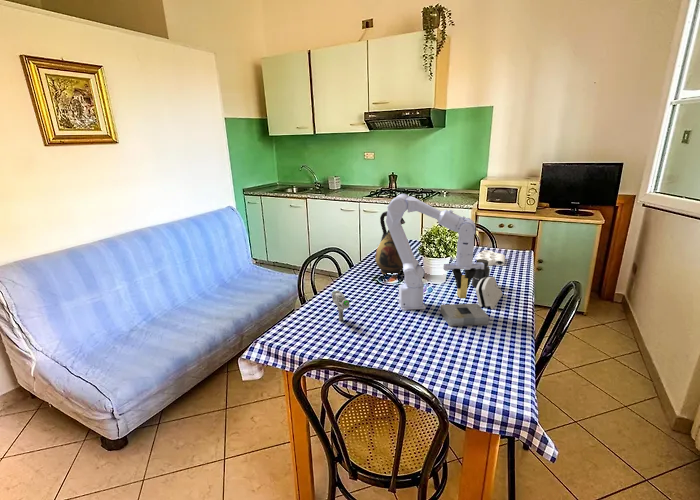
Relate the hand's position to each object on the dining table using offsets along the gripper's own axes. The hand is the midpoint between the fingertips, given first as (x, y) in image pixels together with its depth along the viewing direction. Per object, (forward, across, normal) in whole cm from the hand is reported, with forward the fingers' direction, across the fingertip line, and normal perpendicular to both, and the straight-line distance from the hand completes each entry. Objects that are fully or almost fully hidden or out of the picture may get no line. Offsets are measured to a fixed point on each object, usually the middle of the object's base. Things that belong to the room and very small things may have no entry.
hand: (462, 287), depth 136 cm
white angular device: (+10, +15, +9) cm, 20 cm away
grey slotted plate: (+10, -1, -5) cm, 11 cm away
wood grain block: (+4, 0, 0) cm, 4 cm away
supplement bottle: (+10, +17, +22) cm, 30 cm away
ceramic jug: (+10, -20, +44) cm, 49 cm away
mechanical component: (+10, -46, -2) cm, 47 cm away
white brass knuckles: (+11, +35, +54) cm, 66 cm away
